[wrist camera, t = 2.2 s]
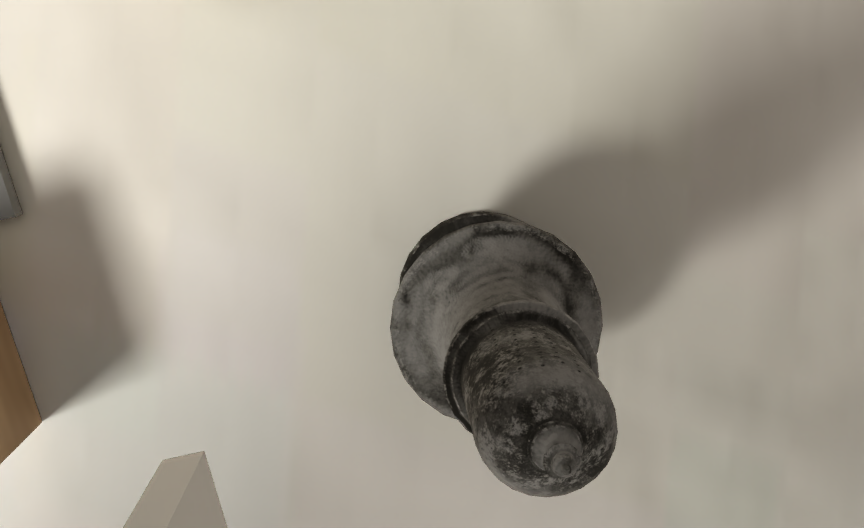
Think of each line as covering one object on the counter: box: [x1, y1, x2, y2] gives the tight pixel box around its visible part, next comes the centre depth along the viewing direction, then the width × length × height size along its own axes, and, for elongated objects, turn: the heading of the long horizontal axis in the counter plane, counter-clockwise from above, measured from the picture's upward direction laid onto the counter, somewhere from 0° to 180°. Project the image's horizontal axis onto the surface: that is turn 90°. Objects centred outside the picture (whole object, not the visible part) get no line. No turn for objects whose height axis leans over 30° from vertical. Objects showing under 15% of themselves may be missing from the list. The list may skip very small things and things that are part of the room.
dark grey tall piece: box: [390, 212, 618, 497], centre depth 20 cm, size 6×6×12 cm
